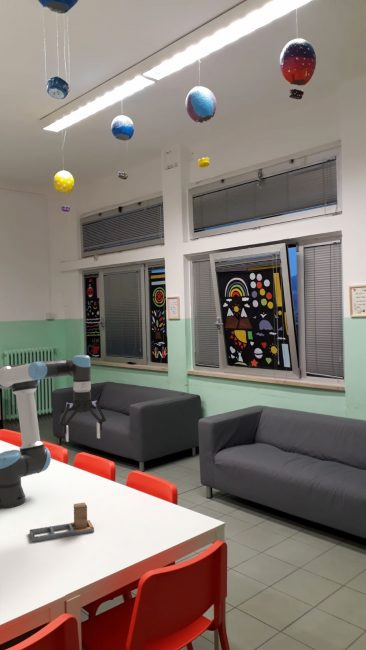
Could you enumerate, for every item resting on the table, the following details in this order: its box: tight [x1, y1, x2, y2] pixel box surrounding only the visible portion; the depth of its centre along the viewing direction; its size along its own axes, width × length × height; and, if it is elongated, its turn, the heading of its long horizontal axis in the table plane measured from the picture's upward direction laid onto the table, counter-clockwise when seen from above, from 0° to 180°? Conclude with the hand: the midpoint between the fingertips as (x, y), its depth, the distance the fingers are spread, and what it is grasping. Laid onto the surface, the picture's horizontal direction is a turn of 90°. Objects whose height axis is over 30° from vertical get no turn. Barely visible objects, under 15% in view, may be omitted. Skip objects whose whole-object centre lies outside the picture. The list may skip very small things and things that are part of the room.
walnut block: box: [73, 502, 88, 530], centre depth 205 cm, size 4×4×10 cm
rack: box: [29, 519, 95, 543], centre depth 202 cm, size 9×24×2 cm, turn 112°
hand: (83, 439), depth 221 cm, fingers open, 13 cm apart
